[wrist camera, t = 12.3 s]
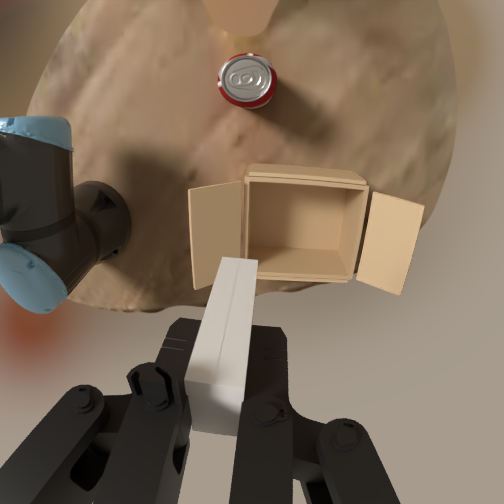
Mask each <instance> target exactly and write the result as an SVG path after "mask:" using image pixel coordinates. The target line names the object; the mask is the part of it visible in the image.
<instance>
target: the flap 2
mask: <svg viewBox="0 0 504 504" xmlns="http://www.w3.org/2000/svg"><path fill="white" fill-rule="evenodd" d="M424 207H425V206H424V205H421V204H418V203H414V202H411V201H408V200H404V199H401V198H397V197H394V196H390V195H386V194H383V193H379V192H375V191H374V192H373V195H372V201H371V207H370V213H369V219H368V224H367V230H366V235H365V240H364V245H363V250H362V255H361V259H360V264H359V268H358V273H357V277H356V280H358V281H361V282H364V283H366V284H369V285H372V286H375V287H377V288H380V289H382V290H385V291H388V292H391V293H393V294H396V295H399V296H400V295H401V292H402V289H403V286H404V283H405V280H406V276H407V273H408V270H409V266H410V263H411V259H412V256H413V252H414V248H415V245H416V241H417V237H418V233H419V229H420V225H421V220H422V216H423V211H424Z"/></svg>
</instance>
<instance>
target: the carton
mask: <svg viewBox="0 0 504 504" xmlns="http://www.w3.org/2000/svg"><path fill="white" fill-rule="evenodd" d="M368 192H369V186H368V185H367V184H366V181H365V180H364V179H363V178H362V177H360V176H359V175H358V174H356V173H355V172H354V171H347V170H337V169H328V168H317V167H305V166H292V165H276V164H257V163H252V164H249V166H248V169H247V171H246V174H245V185H244V223H243V259H252V260H258V267H257V278H256V279H268V280H288V281H310V282H337V283H348V279H350V280H352V277H353V272H354V268H355V263H356V258H357V254H358V249H359V244H360V239H361V233H362V228H363V222H364V217H365V211H366V205H367V198H368Z"/></svg>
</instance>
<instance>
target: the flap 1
mask: <svg viewBox="0 0 504 504" xmlns="http://www.w3.org/2000/svg"><path fill="white" fill-rule="evenodd" d="M241 192H242V182H241V181H236V182H229V183H223V184H216V185H210V186H204V187H198V188H193V189H188V204H189V226H190V244H191V259H192V273H193V286H194V289H195V290H198V289H200V288H203V287H206V286H209V285H212V284H214V281H215V278H216V275H217V272H218V269H219V266H220V263H221V260H222V257H230V258H240V238H241Z"/></svg>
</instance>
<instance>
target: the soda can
mask: <svg viewBox="0 0 504 504" xmlns="http://www.w3.org/2000/svg"><path fill="white" fill-rule="evenodd" d="M276 85H277V75H276V72H275V69H274V67H273V66H272V65H271V63H270V62H269V61H268V60H266V59H265V58H263V57H261V56H259V55H256V54H251V53H245V54H239V55H236V56H234V57H232V58H230V59H229V60H228V61H226V62H225V64H224V65H223V66H222V68H221V69H220V72H219V75H218V87H219V90H220V92H221V94H222V95H223V97H224V98H225V99H226V100H227V101H229V102H230V103H232V104H234V105H236V106H239V107H243V108H249V109H254V108H259V107H262V106H264V105H265V104H267V103H268V102H269V101H270V100H271V98H272V97H273V95H274V92H275V89H276Z"/></svg>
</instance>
